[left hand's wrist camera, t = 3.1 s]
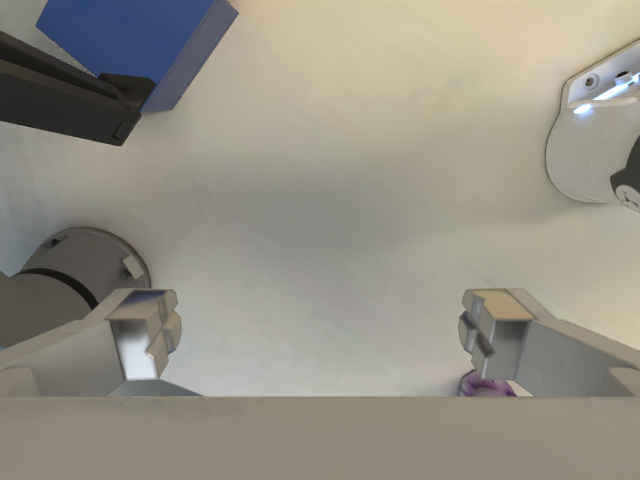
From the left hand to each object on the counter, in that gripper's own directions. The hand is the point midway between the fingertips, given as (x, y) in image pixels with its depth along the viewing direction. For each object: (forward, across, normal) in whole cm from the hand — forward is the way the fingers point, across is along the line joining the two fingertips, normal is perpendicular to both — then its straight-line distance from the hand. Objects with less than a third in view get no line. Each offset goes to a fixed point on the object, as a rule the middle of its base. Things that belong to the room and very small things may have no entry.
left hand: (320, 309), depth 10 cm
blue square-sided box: (+36, -17, +13) cm, 42 cm away
